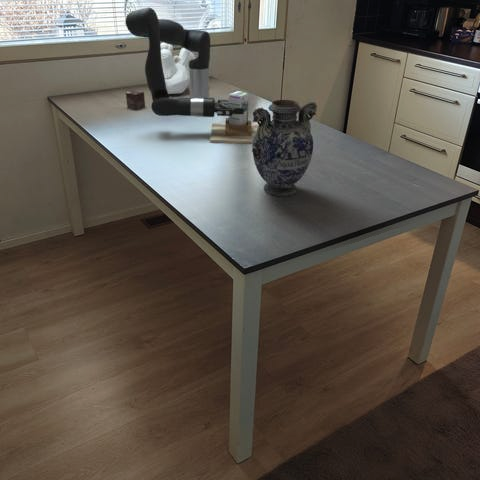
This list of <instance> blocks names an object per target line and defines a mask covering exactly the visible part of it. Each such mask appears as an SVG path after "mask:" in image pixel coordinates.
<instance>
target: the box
mask: <svg viewBox="0 0 480 480" xmlns="http://www.w3.org/2000/svg"><path fill="white" fill-rule="evenodd" d="M125 100H126V105H127V106H126V107H127V109H131V110H136V111H139V110H142V109H144V108H146V100H145V91H142V90H135V89H134V90H130V91H127V92H125Z"/></svg>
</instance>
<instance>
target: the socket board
mask: <svg viewBox="0 0 480 480" xmlns="http://www.w3.org/2000/svg"><path fill="white" fill-rule="evenodd" d="M258 126H259V125H258V123H257V122H252V118H250V117H248V125H229V117H225V122H212V123H211V128H210V129H211V131H210V137H209V139H210V140H209V141H210V142H209V143H210V144H211V143H212V144H213V143H215V144H219V143H220V144H253V139H254V135H255V133H256V131H257V128H258Z"/></svg>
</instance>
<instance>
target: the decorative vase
mask: <svg viewBox="0 0 480 480" xmlns="http://www.w3.org/2000/svg"><path fill="white" fill-rule="evenodd" d="M317 107H318V105H317V104H316V102H313V101H307V102H306V103H305V104H304V105H303V106H300V105H299V102H297V101H295V100H291V99H278V100H277V99H276V100H273V101H272V103H271V104H270V105H269V106H268V109H265V108H264V107H258V108H255V109H254V110H253V112H252V117H253V118H252V123H257V124H258V125H259V126H258V128H257V131H256V133H255V135H254V139H253V143H252V145H251V152H252V156H253V162H254V166H255V168H256V170H257V173H258V174H259V175H260V177H261V178H262V179H263V181H264V182H266V183H265V184H264V185H263V191H264V192H265V193H267V194H268V195H272V196H276V197H287V196H292V195H294V194H295V193H296V192H297V186H296V183H298V182H299V181H300V180H301V179H302V177H303V176H304V175H305V173H306V171H307V170H308V168H309V167H310V166H309V165H310V163H311V160H312V157H313V153H314V139H313V137H314V136H313V135H312V133H311V128H312V127H311V122H310V120H312V118H313V117H314V116H316V115H317ZM268 110H269V111H271V112H272V117H271V113H270V112H269V111H268ZM297 114H298V116H297Z"/></svg>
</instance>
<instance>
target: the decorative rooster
mask: <svg viewBox="0 0 480 480" xmlns="http://www.w3.org/2000/svg"><path fill="white" fill-rule="evenodd" d="M160 44H161V61H162V67H163V73H164V77H165V83H166V89H167V92H168V95H171V94H172V95H173V94H174V95H176V94H184V93H183V92H185V90H186V89H187V88H188V87H189V61H190V60H193V59H196V58H197V57H195V54H194V52H192V51H189V50H187V49H185V48H183V47H181V49H180V51H179V55H174V56H173V49H174V47H173V46H174V45H170V44H167V43H164V42H160ZM176 59H177V62H175V60H176Z"/></svg>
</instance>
